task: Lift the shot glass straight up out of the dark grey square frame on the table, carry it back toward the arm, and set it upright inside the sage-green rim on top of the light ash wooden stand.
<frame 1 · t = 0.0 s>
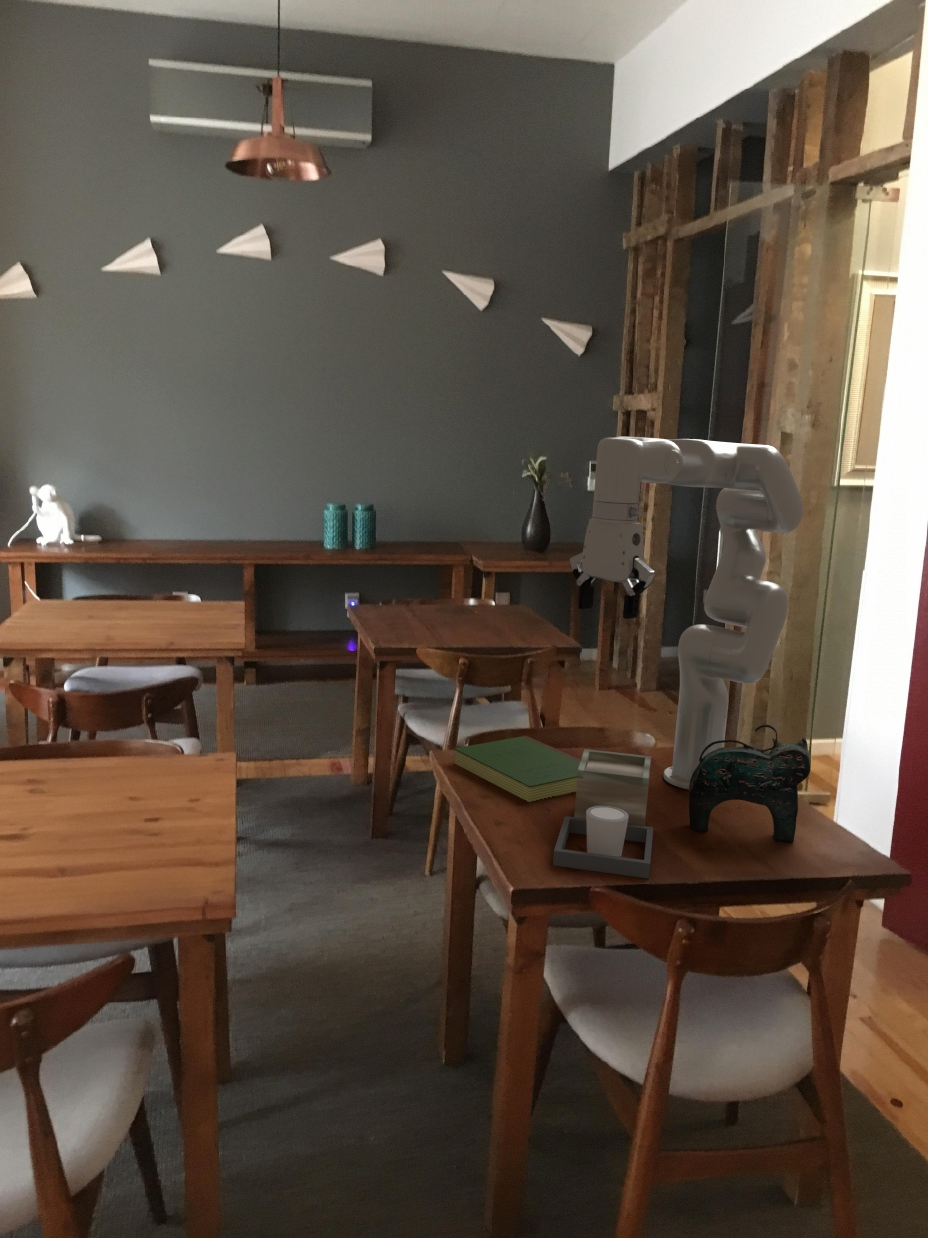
hand: (607, 613, 173), 37 cm above the table, tool pointing down, fingers open, 9 cm apart
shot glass: (604, 854, 166), resting in dark grey square frame
hardcover book: (525, 777, 202), on the table
stand: (610, 819, 181), on the table
dark grey square frame: (604, 853, 166), on the table
ceramic cat: (743, 835, 177), on the table
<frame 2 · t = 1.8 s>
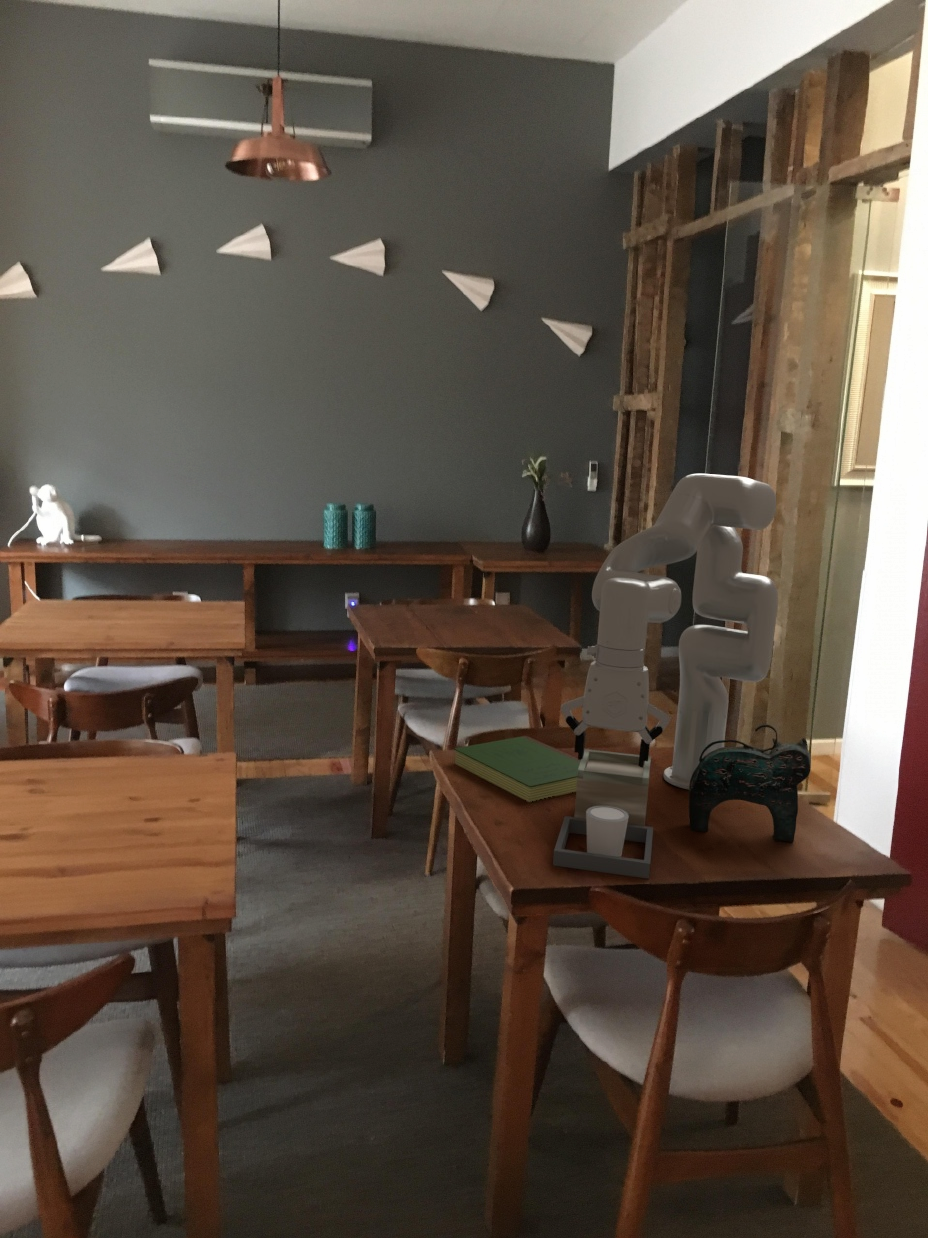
hand: (610, 761, 163), 16 cm above the table, tool pointing down, fingers open, 9 cm apart
nothing on the table moved.
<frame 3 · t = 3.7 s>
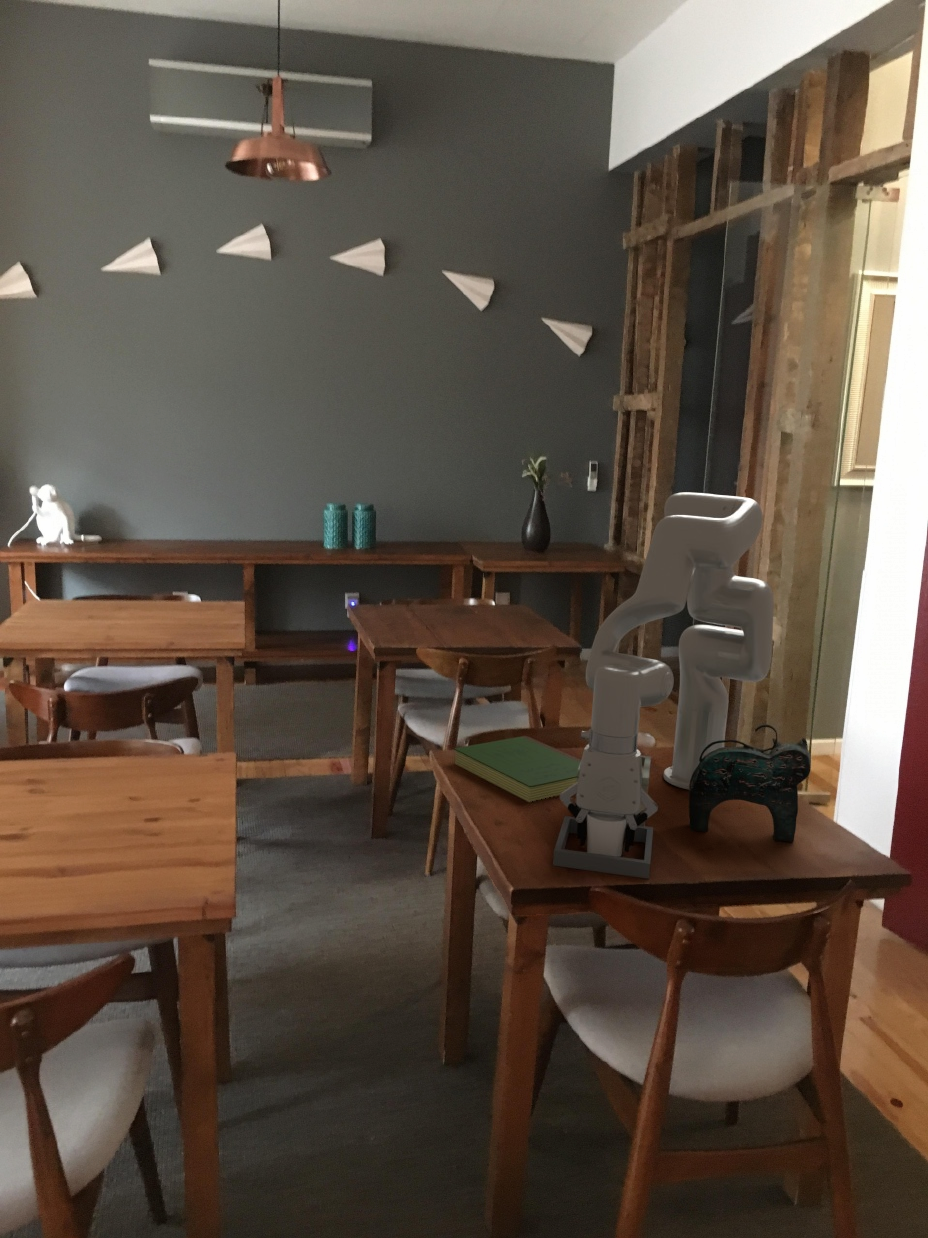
hand: (604, 845, 166), 1 cm above the table, tool pointing down, fingers closed on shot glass, 6 cm apart
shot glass: (604, 854, 166), resting in dark grey square frame, touching gripper
everything else where it was.
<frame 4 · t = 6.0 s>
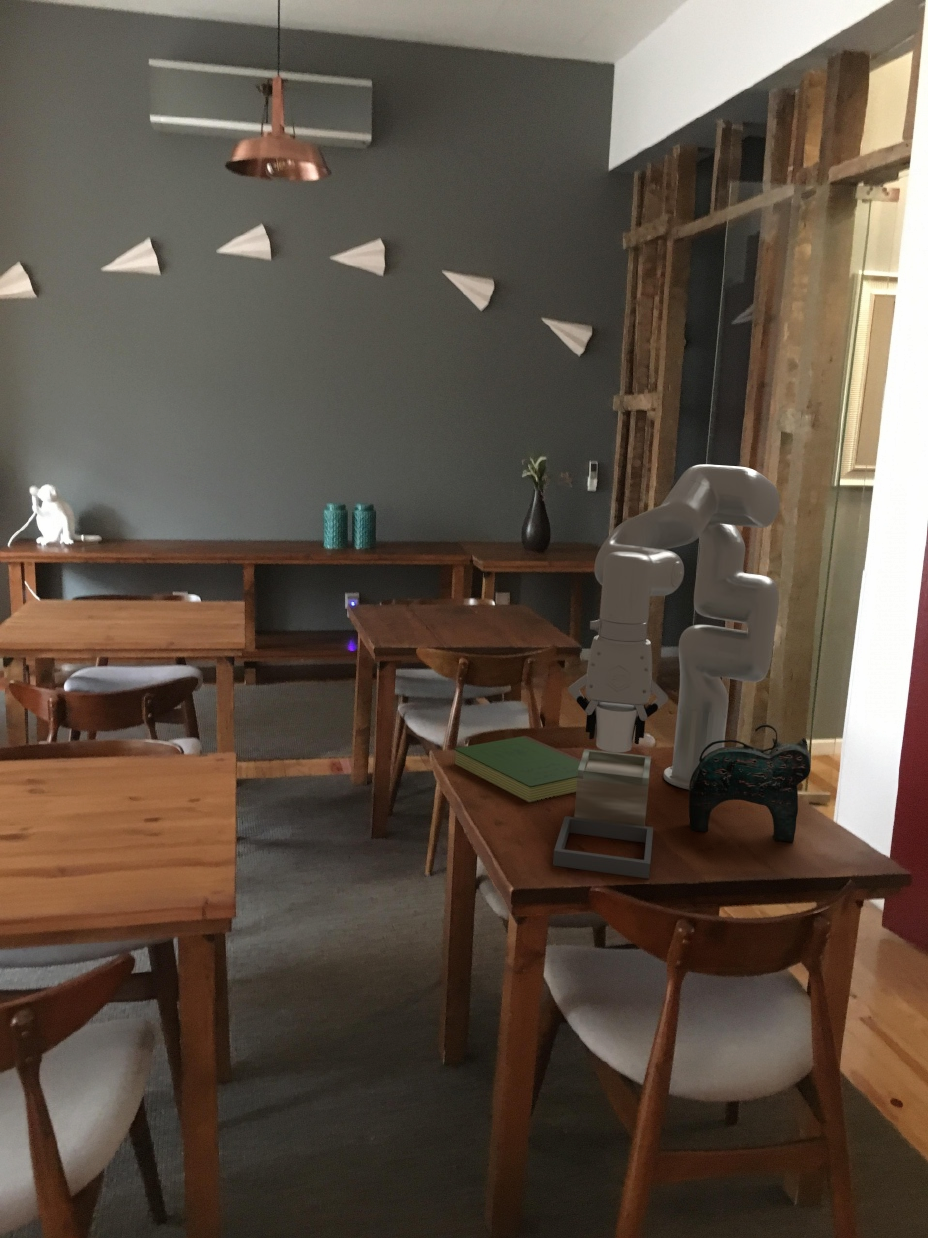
hand: (614, 738, 163), 19 cm above the table, tool pointing down, fingers closed on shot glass, 6 cm apart
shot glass: (613, 747, 164), point 18 cm above the table, touching gripper
everything else where it was.
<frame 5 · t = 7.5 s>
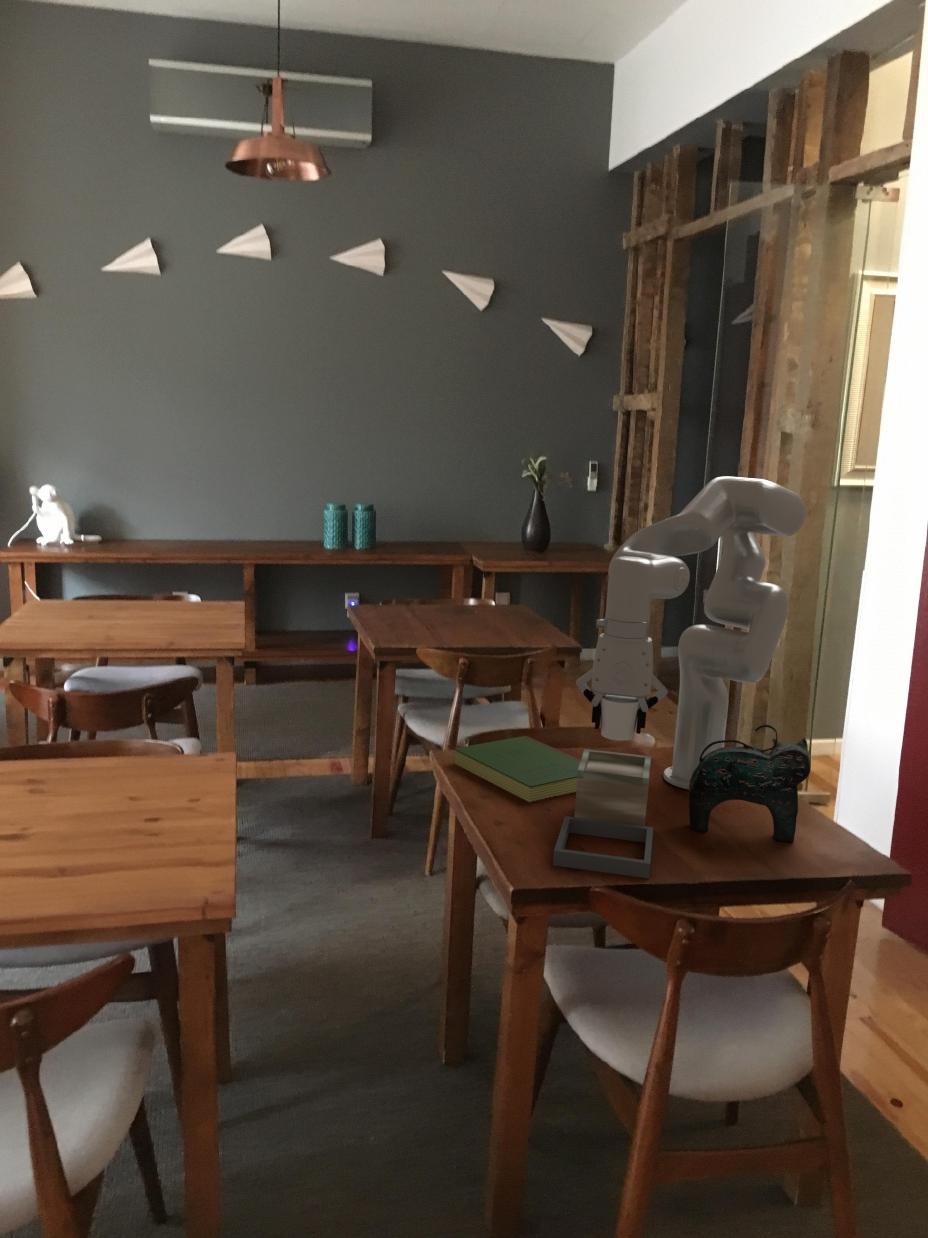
hand: (617, 728, 177), 17 cm above the table, tool pointing down, fingers closed on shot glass, 6 cm apart
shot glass: (617, 736, 178), point 15 cm above the table, touching gripper
everything else where it was.
when the fingers open (12 cm above the table, at t = 8.9 s): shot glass drops 1 cm, resting on stand.
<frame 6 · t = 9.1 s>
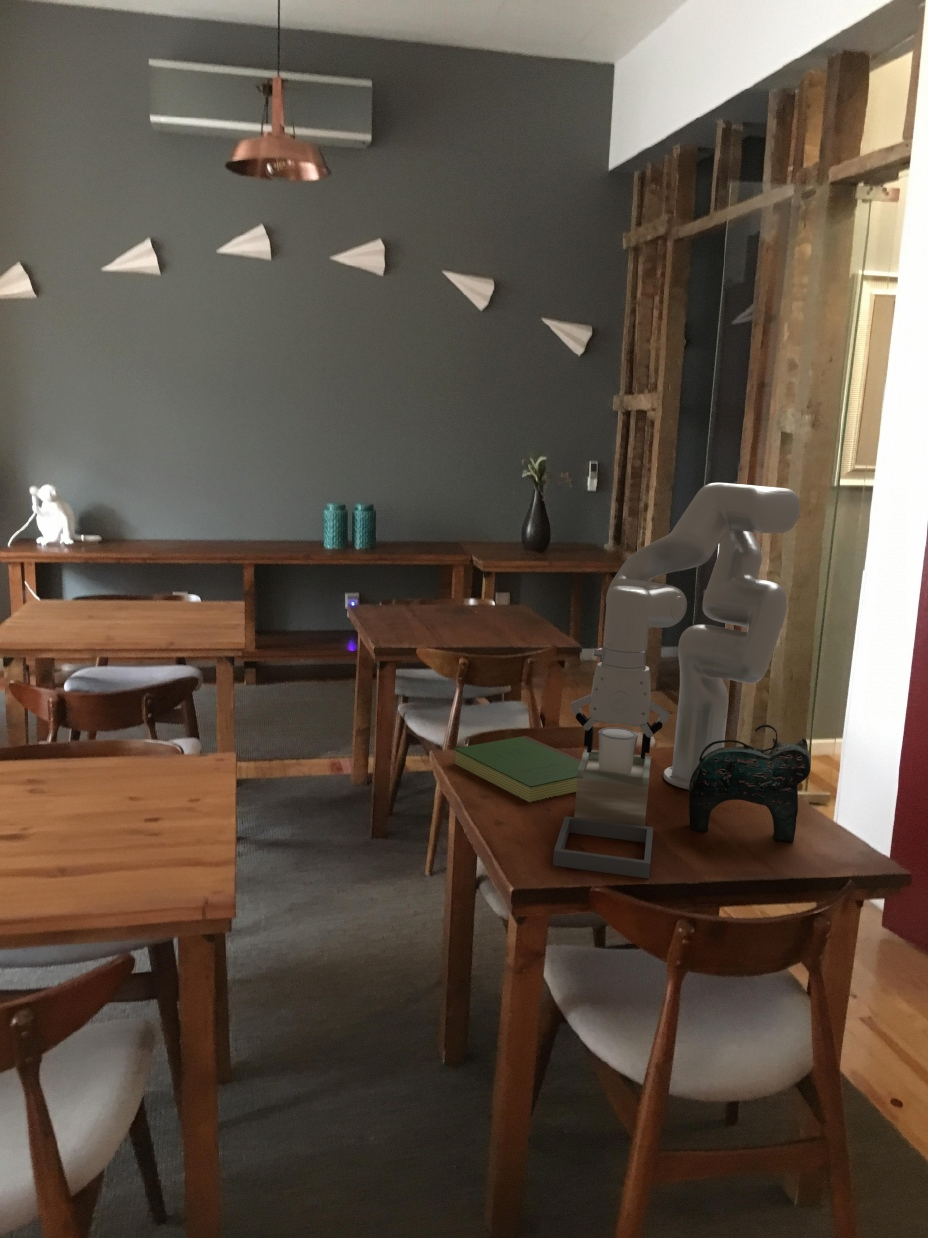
hand: (616, 753, 178), 12 cm above the table, tool pointing down, fingers open, 9 cm apart
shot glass: (614, 771, 179), point 9 cm above the table, touching stand
everything else where it was.
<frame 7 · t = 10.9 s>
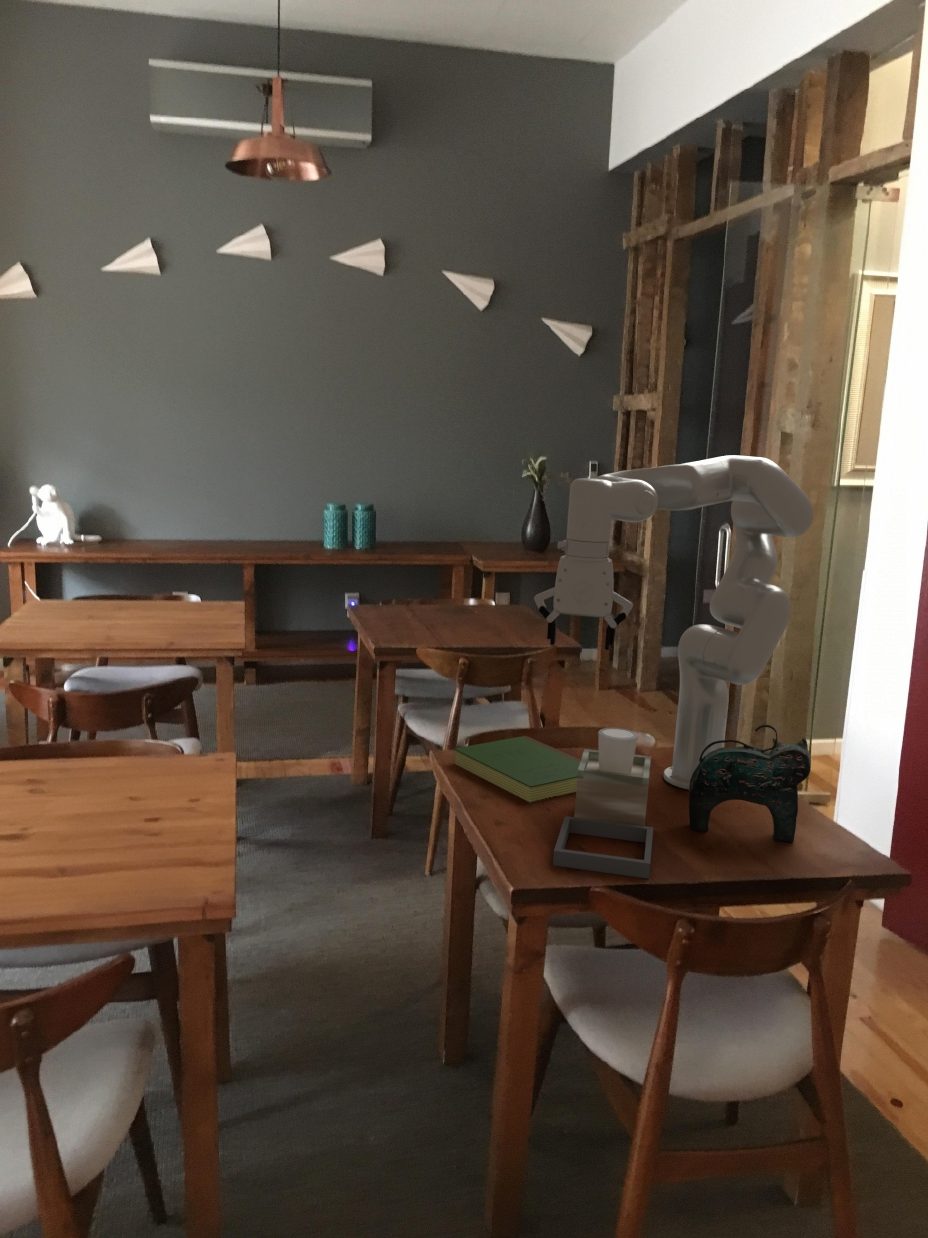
hand: (579, 646, 180), 30 cm above the table, tool pointing down, fingers open, 9 cm apart
nothing on the table moved.
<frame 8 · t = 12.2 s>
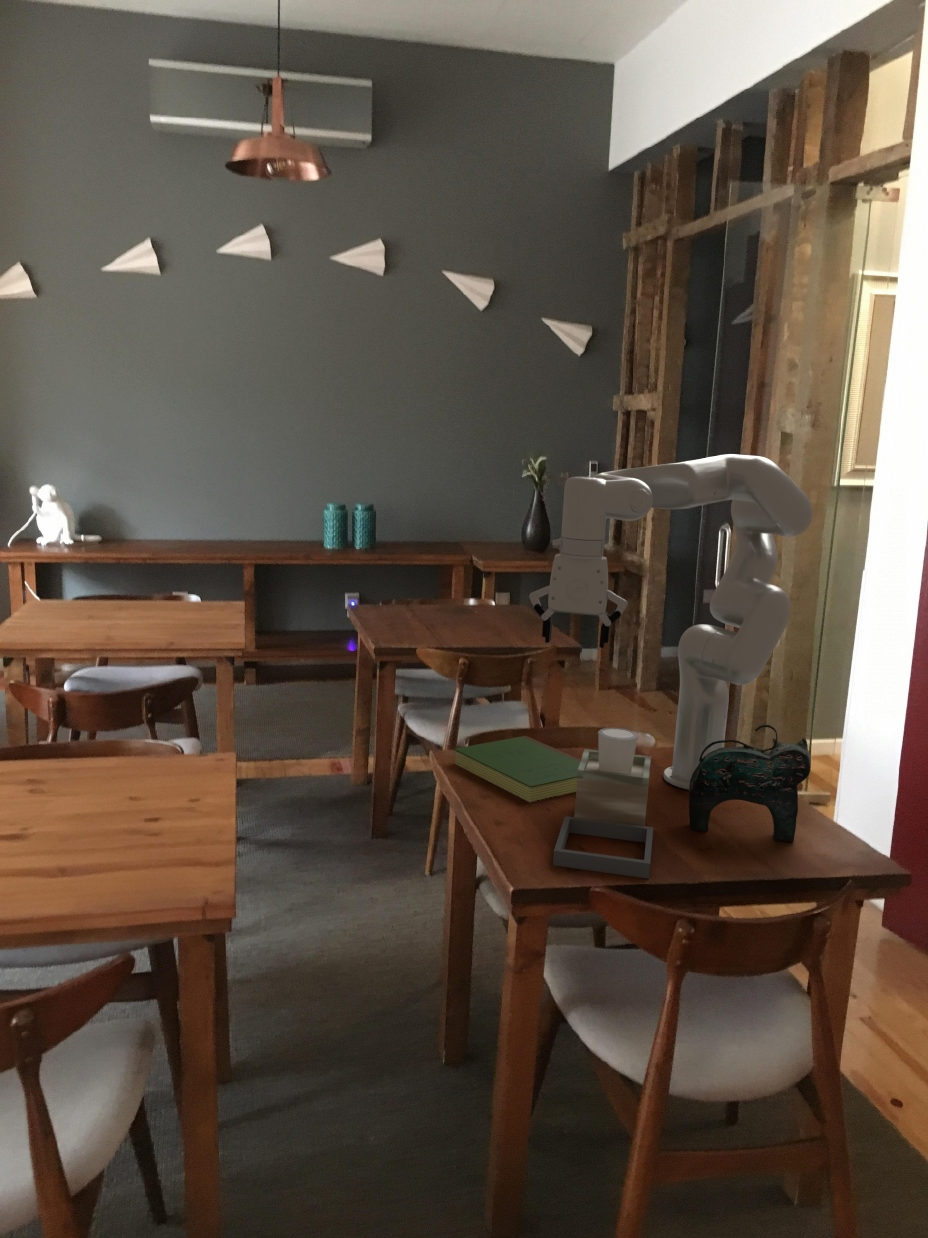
hand: (574, 643, 180), 30 cm above the table, tool pointing down, fingers open, 9 cm apart
nothing on the table moved.
at the end: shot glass 0.1 cm off-centre on the stand, point 8.8 cm above the stand's base; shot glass tilted 0°; the gripper is holding nothing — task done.
